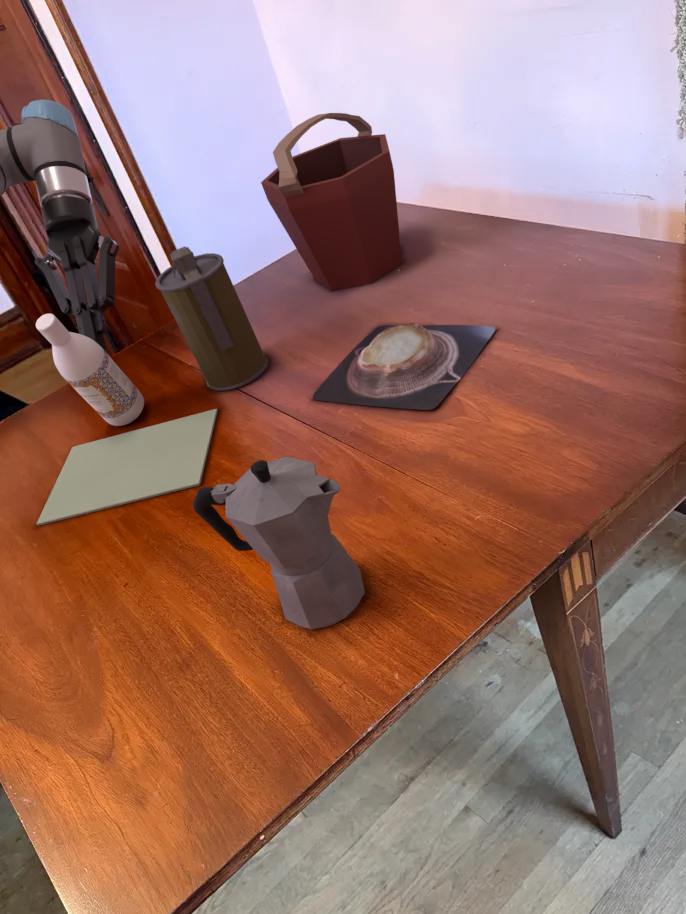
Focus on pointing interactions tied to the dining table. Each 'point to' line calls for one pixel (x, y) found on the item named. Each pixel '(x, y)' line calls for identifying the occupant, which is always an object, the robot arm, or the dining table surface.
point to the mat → (131, 467)
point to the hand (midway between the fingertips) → (98, 355)
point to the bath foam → (92, 373)
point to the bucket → (338, 204)
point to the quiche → (405, 366)
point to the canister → (212, 319)
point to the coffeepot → (289, 537)
